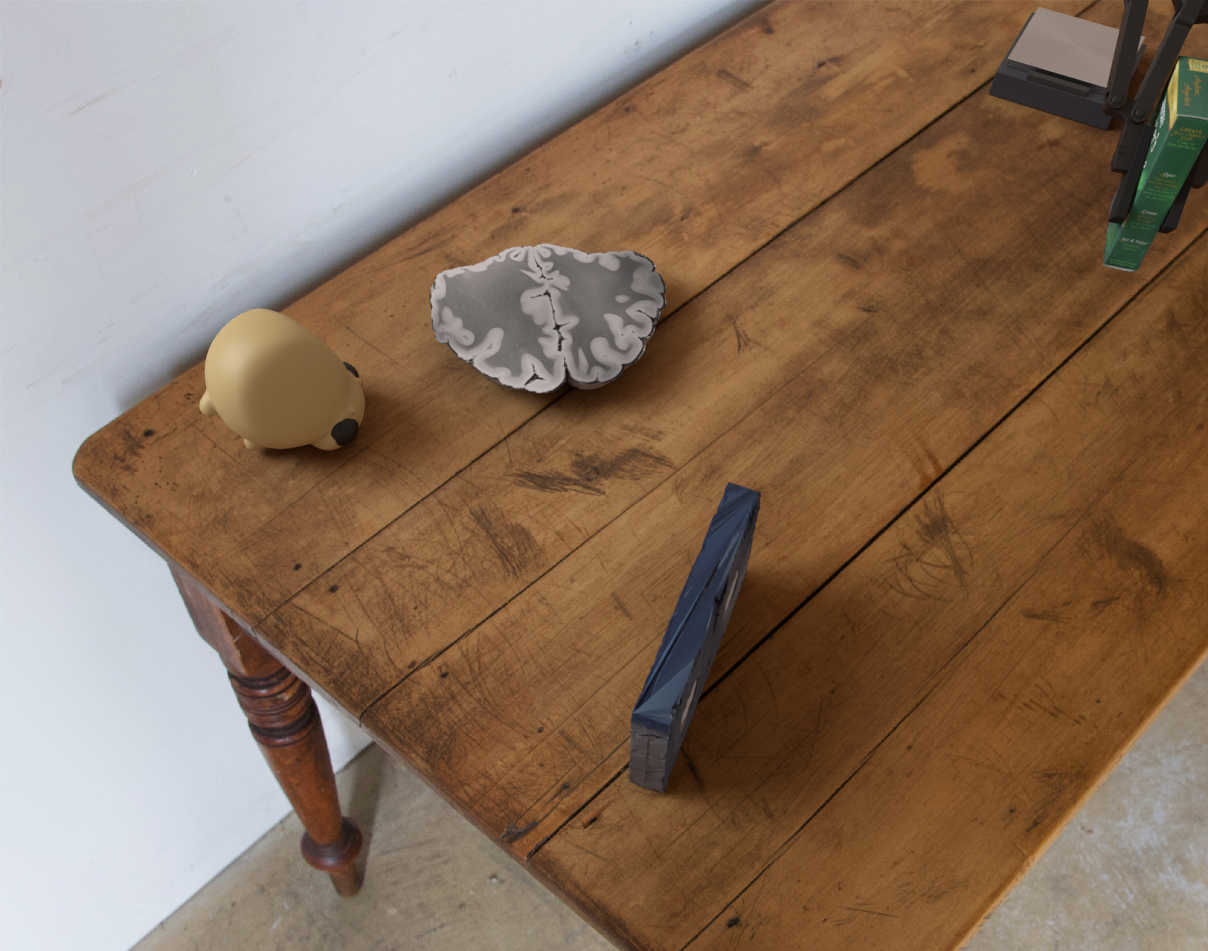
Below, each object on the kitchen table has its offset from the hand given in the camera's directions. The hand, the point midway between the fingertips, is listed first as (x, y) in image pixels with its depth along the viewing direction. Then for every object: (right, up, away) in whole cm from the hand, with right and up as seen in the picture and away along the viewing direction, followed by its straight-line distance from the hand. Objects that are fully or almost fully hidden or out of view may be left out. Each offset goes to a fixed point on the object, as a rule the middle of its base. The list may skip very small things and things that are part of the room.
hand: (1141, 224), depth 83 cm
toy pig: (-64, -14, +5) cm, 66 cm away
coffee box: (+1, +1, +6) cm, 6 cm away
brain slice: (-44, -6, +10) cm, 46 cm away
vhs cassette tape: (-34, -33, -7) cm, 48 cm away
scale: (+7, +25, +30) cm, 40 cm away
